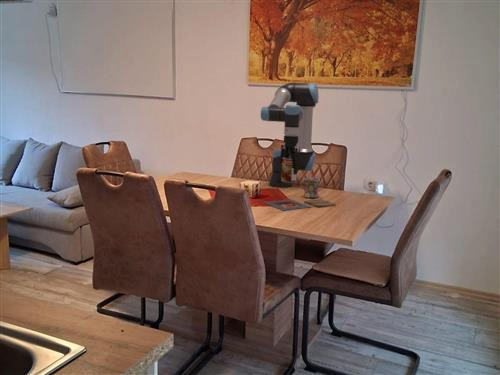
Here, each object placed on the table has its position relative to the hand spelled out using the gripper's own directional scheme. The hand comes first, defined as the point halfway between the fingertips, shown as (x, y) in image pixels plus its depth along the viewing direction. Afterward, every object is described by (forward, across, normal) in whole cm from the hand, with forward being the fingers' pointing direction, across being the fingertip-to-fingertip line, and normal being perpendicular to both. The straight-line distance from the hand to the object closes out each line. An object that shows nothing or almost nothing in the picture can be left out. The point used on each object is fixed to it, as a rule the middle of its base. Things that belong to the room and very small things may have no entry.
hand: (288, 178), depth 246 cm
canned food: (+1, 0, 0) cm, 1 cm away
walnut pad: (+14, +5, +18) cm, 23 cm away
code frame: (+14, 0, 0) cm, 14 cm away
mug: (+15, -12, +24) cm, 30 cm away
